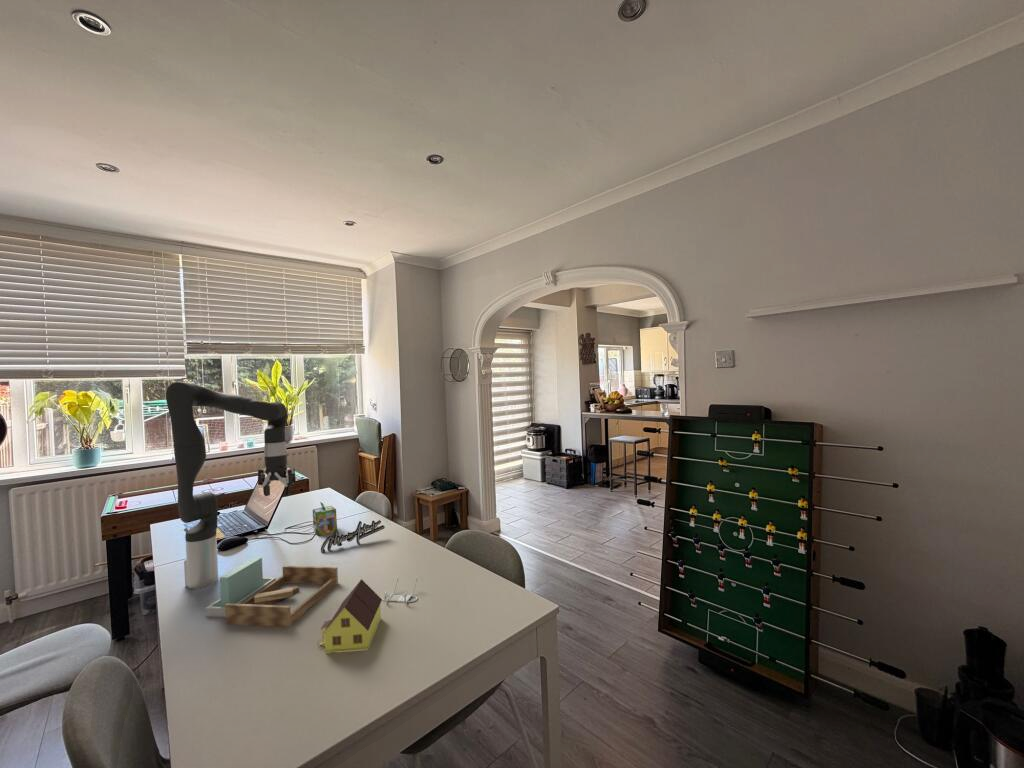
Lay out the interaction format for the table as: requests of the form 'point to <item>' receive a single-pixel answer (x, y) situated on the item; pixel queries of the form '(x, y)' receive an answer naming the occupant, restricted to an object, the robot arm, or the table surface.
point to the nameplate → (352, 535)
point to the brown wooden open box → (276, 613)
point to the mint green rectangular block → (241, 581)
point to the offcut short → (273, 595)
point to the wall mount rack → (400, 597)
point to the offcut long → (295, 589)
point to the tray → (219, 611)
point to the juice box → (324, 520)
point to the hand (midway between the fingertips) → (277, 495)
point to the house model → (353, 621)
